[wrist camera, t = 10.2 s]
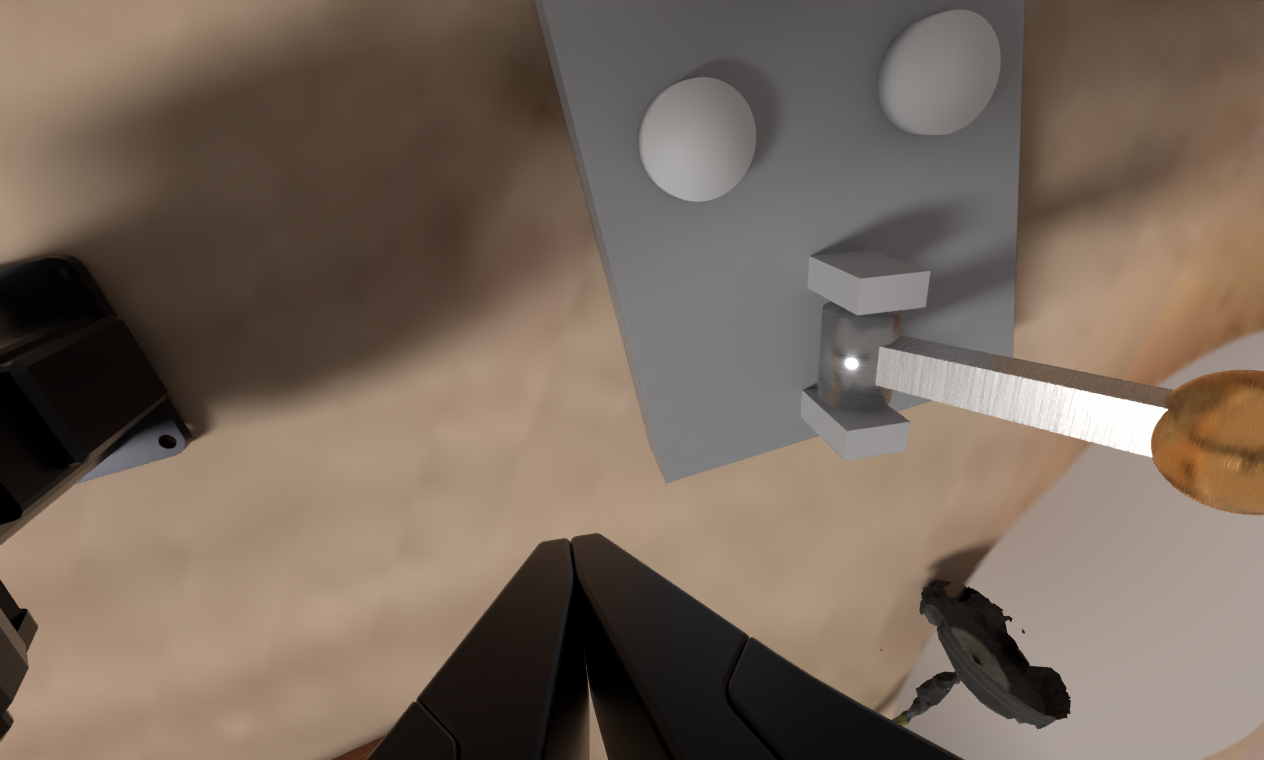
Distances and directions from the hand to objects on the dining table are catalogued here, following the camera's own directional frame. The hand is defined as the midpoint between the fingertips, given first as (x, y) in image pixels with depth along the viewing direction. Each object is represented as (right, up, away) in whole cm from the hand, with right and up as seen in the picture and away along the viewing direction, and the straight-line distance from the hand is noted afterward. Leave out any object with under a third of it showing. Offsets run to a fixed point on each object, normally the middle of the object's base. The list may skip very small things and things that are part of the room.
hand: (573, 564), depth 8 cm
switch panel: (+5, +11, +11) cm, 16 cm away
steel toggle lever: (+7, +4, +11) cm, 13 cm away
